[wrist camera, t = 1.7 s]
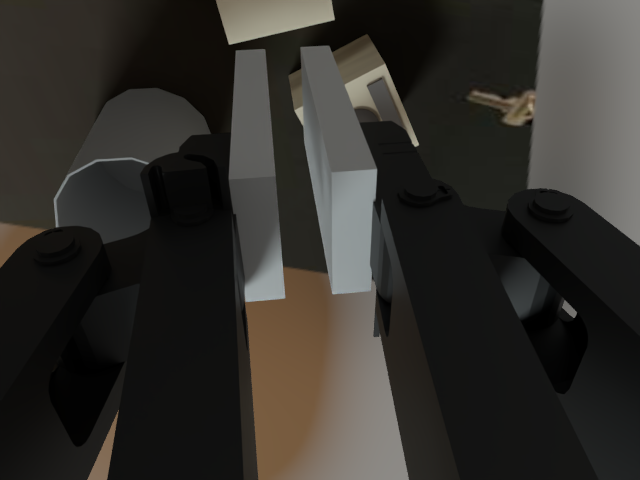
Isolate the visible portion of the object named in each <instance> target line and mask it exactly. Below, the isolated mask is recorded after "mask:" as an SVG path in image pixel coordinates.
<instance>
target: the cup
mask: <svg viewBox="0 0 640 480" xmlns="http://www.w3.org/2000/svg"><path fill="white" fill-rule="evenodd" d="M202 134H211V133H210V130H209V128H208V125H207V123H206V120H205V118H204V116H203V115H202V114H201V113H199V112H198V111H197V110H196V109H195V108H194V107H193V106H192V105H191V104H190V103H189V102H188V101H187V100H186V99H185V98H183V97H180V96H177V95H175V94H172V93H169V92H167V91H164V90H161V89H159V88H145V89H129V90H127V91H125V92H123V93H122V94H120V95H118V96H116V97H114V98H113V99H111V100H109V101H107V102H106V104H105V106H104V107H103V109H102V111H101V113H100V114H99V116H98V118H97V120H96V121H95V123H94V125H93V127H92V129H91V131H90V133H89V134H88V136H87V138H86V140H85V142H84V144H83V146H82V147H81V149H80V151H79V153H78V155H77V157H76V159H75V161H74V162H73V164H72V166H71V168H70V170H69V172H68V174H67V176H66V177H65V179H64V181H63V183H62V185H61V187H60V189H59V190H58V192H57V194H56V196H55V198H54V207H55V219H56V227H65V226H82V227H88V228H92V229H93V230H95V231H96V232H98V233H99V234H100V236H101V239H102V241H103V244H106V243H109V242H113V241H117V240H120V239H124V238H127V237H130V236H133V235H136V234H139V233H141V232H143V231H145V230H147V229H149V226H150V220H151V216H150V212H149V208H148V205H147V201H146V197H145V193H144V189H143V185H142V181H141V177H140V173H141V172H142V170H143V168H144V167H145V166H146V165H147V164H149V163H150V162H152V161H153V160H154V159H156V158H159V157H162V156H164V155H167V154H170V153H176V152H178V151H179V147H180V146H181V145H182V144H183V143H184V142H185V141H186V140H187V139H188V138H189V137H190V136H191V135H202Z"/></svg>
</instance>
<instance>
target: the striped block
mask: <svg viewBox="0 0 640 480" xmlns="http://www.w3.org/2000/svg"><path fill="white" fill-rule="evenodd" d="M332 54H333V57H334V59H335V62H336V64H337V67H338V70H339V72H340V75H341V77H342V80H343V82H344V85H345V88H346V90H347V93H348V95H349V98H350V100H351V103H352V106H353V108H354V111H355V113H356V116H357V119H358V121H359V123H362V122H378V121H393V122H394V123H396V124H398V125H399V126H401V127H402V128H404V129H405V130H406V131H407V133H408V135H409V137H410V139H411V140H412V144H414V146H415V147H416V146H418V145H419V143H418V141H417V139H416V136H415V134H414V131H413V129H412V127H411V124H410V122H409V119H408V117H407V115H406V112H405V110H404V107H403V105H402V103H401V100H400V98H399V95H398V93H397V91H396V88H395V86H394V84H393V81H392V79H391V76H390V74H389V72H388V69H387V67H386V64H385V62H384V61H383V59H382V57H381V56H380V54H379V53H378V51H377V49H376V48H375V46H374V44H373V43H372V41H371V39H370V38H369V36H368V34H366V35H364V36H362V37H360V38H358V39H357V40H355V41H353V42H351V43H349V44H347V45H345V46H343V47H341V48H340V49H338V50H336V51H334V52H332ZM289 81H290V87H291V93H292V99H293V105H294V110H295V112H296V114H297V116H298V117H299V119H300V121H301V123H302V125H303V126H304V122H303V97H302V72H301V69H300V70H298V71H296V72H294V73H292V74H290V75H289Z"/></svg>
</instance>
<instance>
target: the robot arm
mask: <svg viewBox="0 0 640 480" xmlns="http://www.w3.org/2000/svg"><path fill="white" fill-rule="evenodd" d="M300 48H301V72H302V97H303V122H304V143H305V148H306V154H307V159H308V165H309V170H310V175H311V181H312V186H313V192H314V197H315V203H316V208H317V213H318V219H319V224H320V230H321V235H322V241H323V246H324V251H325V257H326V262H327V268H328V273H329V278H330V284H331V289H332V294H342V293H353V292H364V291H371V276H372V274H373V278H374V281H375V285H376V305H375V321H374V337H379V334H380V335H381V341H382V345H383V351H384V356H385V361H386V366H387V371H388V376H389V380H390V386H391V391H392V396H393V401H394V406H395V411H396V416H397V421H398V426H399V431H400V436H401V441H402V446H403V451H404V456H405V461H406V466H407V472H408V477H409V480H640V246H639V245H637V244H636V243H635V242H634V241H632V240H631V239H630V238H628V237H627V236H626V235H625V234H623V233H622V232H621V231H619V230H618V229H617V228H615V227H614V226H613V225H612V224H610V223H609V222H608V221H606V220H605V219H604V218H603V217H601V216H600V215H598V214H597V213H596V212H595V211H594V210H592V209H591V208H590V207H588V206H587V205H586V204H585V203H583V202H581V201H580V200H578V199H576V198H575V197H573V196H571V195H568V194H565V193H562V192H559V191H557V190H552V189H549V190H547V189H541V188H540V189H527V190H523V191H520V192H518V193H515V194H514V195H513V196H512V197H511V198H510V199H509V200H508V204H507V208H506V211H498V210H489V209H481V208H475V207H469V206H466V205H463V203H462V201H461V199H460V197H459V195H458V194H457V192H456V191H455V190H454V189H453V188H452V187H451V186H449V185H447V184H446V183H444V182H442V181H439V180H435V179H432V178H431V176H430V174H429V172H428V170H427V168H426V166H425V165H424V163H423V161H422V159H421V157H420V155H419V153H417V150H416V148H415V146H414V144H412V140H411V139H410V137H409V135H408V133H407V131H406V130H405V129H404V128H402V127H401V126H399V125H398V124H396V123H394V122H393V121H378V122H362V123H359V121H358V119H357V116H356V113H355V111H354V108H353V106H352V103H351V100H350V98H349V95H348V93H347V90H346V88H345V85H344V82H343V80H342V77H341V75H340V72H339V70H338V67H337V64H336V62H335V59H334V57H333V54H332V51H331V49H330V46H312V47H300ZM140 177H141V181H142V185H143V189H144V193H145V197H146V201H147V205H148V208H149V212H150V216H151V220H150V226H149V229H147V230H145V231H143V232H141V233H139V234H136V235H133V236H130V237H127V238H124V239H120V240H117V241H113V242H109V243H106V244H103V241H102V239H101V236H100V234H99V233H98V232H96V231H95V230H93V229H92V228H88V227H82V226H65V227H57V228H54V229H49V230H46V231H44V232H42V233H40V234H38V235H36V236H34V237H32V238H30V239H28V240H27V241H26V242H25V243H23V244H22V245H21V246H20V247H19V248H17V249H16V251H15V252H14V253H13V254H12V255H11V256H10V257H9V259H8V260H7V261H6V262H5V263H4V264H3V266H2V267H1V268H0V480H87V479H88V477H89V474H90V472H91V470H92V468H93V466H94V463H95V461H96V459H97V457H98V454H99V452H100V450H101V448H102V446H103V443H104V441H105V439H106V436H107V434H108V432H109V430H110V428H111V425H112V423H113V421H114V419H115V416H116V414H117V412H118V410H119V413H118V419H117V425H116V431H115V437H114V443H113V449H112V455H111V461H110V467H109V473H108V479H107V480H258V471H257V457H256V441H255V426H254V412H253V397H252V384H251V368H250V354H249V338H248V325H247V315H246V308H245V301H244V300H245V299H246V302H251V301H261V300H273V299H284V298H285V290H284V278H283V265H282V253H281V240H280V228H279V215H278V203H277V190H276V177H275V165H274V153H273V140H272V128H271V115H270V103H269V90H268V78H267V66H266V53H265V49H256V50H237V51H236V58H235V75H234V93H233V111H232V129H231V133H217V134H202V135H191V136H190V137H189V138H188V139H187V140H186V141H185V142H184V143H183V144H182V145H181V146H180V147H179V151H178V152H176V153H170V154H167V155H164V156H162V157H159V158H156V159H154V160H153V161H152V162H150V163H149V164H147V165H146V166H145V167H144V168H143V170H142V172H141V173H140ZM564 300H566V301H567V302H568V303H569V304H570V305H571V306H572V307H573V309H575V311H576V312H577V315H576V317H575V318H573V317H572V316H570V315H569V314H568V313H567V312H566V311H565V310H564V309H563V308H562V306H563V303H564Z"/></svg>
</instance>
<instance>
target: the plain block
mask: <svg viewBox="0 0 640 480" xmlns="http://www.w3.org/2000/svg"><path fill="white" fill-rule="evenodd" d="M216 2H217V6H218V9H219V12H220V16H221V19H222V23H223V26H224V29H225V33H226V36H227V39H228V43H229V45H230V44H235V43H239V42H243V41H247V40H252V39H256V38H260V37H264V36H269V35H273V34H277V33H281V32H286V31H290V30H294V29H298V28H303V27H307V26H311V25H315V24H319V23H324V22H328V21H332V20H335V19H334V13H333V7H332V1H331V0H216Z"/></svg>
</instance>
